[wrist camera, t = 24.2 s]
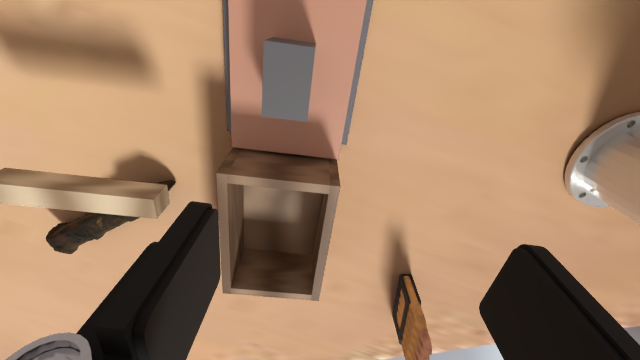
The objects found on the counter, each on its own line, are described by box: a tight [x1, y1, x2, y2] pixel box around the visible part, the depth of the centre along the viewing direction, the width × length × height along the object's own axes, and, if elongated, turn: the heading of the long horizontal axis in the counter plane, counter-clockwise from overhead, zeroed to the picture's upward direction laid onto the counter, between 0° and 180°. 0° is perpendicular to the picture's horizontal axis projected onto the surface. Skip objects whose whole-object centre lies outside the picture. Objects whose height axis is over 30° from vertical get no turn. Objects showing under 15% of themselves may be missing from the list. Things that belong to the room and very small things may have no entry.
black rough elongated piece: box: [46, 181, 176, 254], centre depth 37 cm, size 19×4×5 cm, turn 114°
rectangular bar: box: [0, 168, 170, 219], centre depth 25 cm, size 14×2×2 cm, turn 83°
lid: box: [228, 0, 367, 159], centre depth 27 cm, size 12×17×7 cm
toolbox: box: [216, 147, 340, 301], centre depth 35 cm, size 12×17×8 cm
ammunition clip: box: [393, 274, 432, 360], centre depth 43 cm, size 11×2×12 cm, turn 1°
